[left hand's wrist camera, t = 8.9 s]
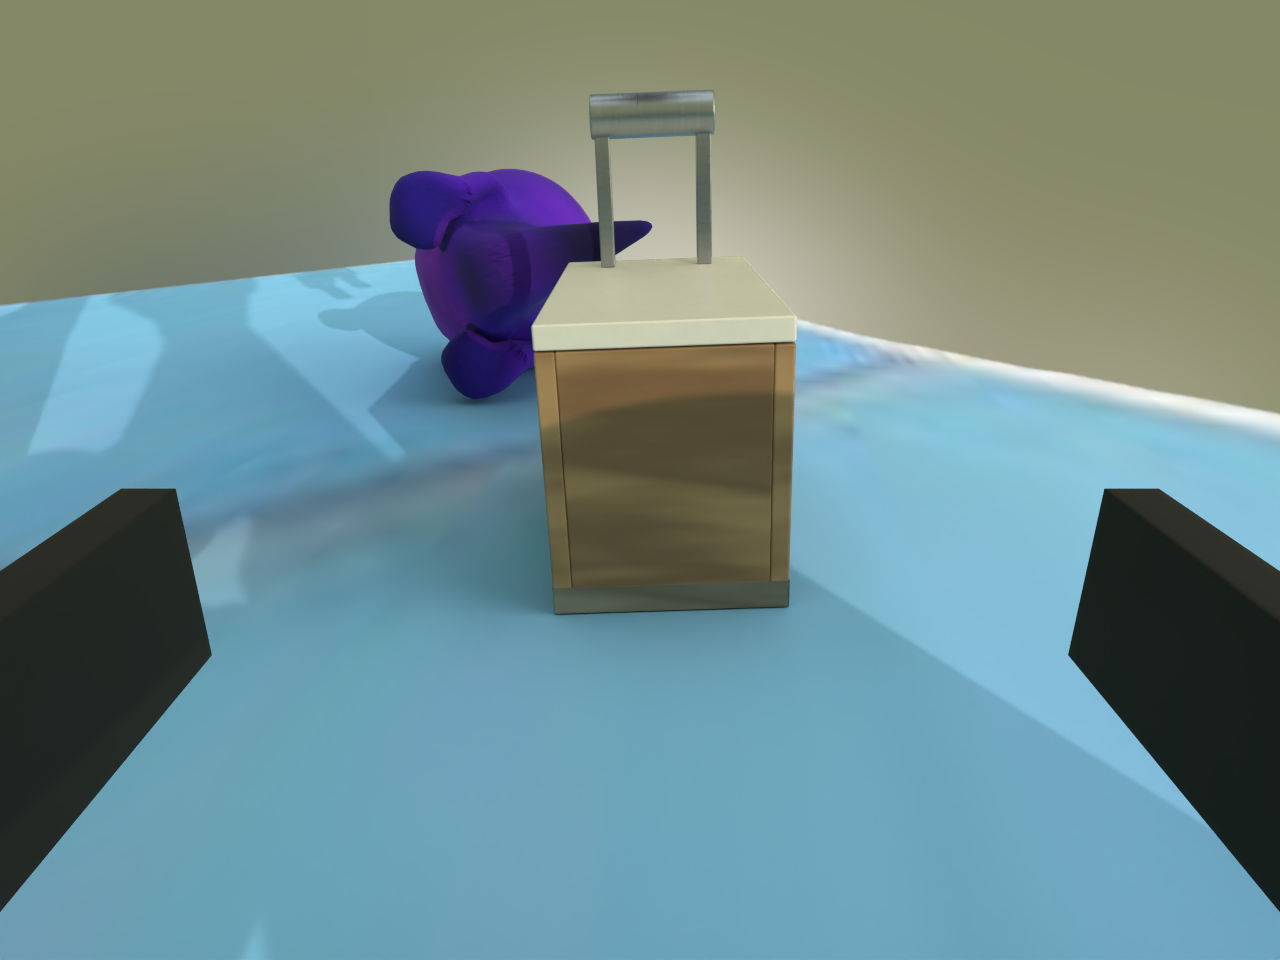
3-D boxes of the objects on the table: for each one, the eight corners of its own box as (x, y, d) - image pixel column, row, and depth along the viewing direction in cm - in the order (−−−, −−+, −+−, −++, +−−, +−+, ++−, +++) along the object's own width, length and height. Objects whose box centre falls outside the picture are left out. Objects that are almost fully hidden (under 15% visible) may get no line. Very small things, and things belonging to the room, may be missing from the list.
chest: (581, 467, 49) (568, 282, 45) (742, 462, 49) (744, 275, 45) (554, 614, 34) (532, 353, 30) (788, 606, 34) (796, 343, 30)
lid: (569, 280, 46) (557, 98, 42) (742, 273, 45) (744, 90, 42) (533, 351, 30) (509, 73, 27) (796, 342, 30) (805, 61, 27)
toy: (422, 434, 54) (471, 374, 81) (688, 349, 54) (650, 317, 81) (324, 181, 50) (409, 205, 76) (612, 89, 50) (598, 145, 76)
